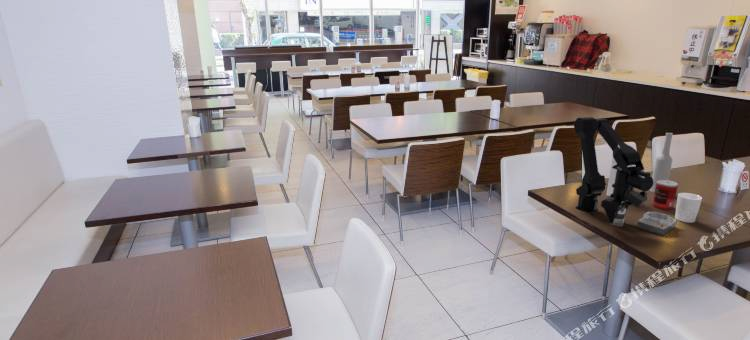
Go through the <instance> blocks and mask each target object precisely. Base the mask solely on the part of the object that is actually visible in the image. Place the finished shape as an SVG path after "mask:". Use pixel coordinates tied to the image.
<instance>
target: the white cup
mask: <svg viewBox="0 0 750 340" xmlns="http://www.w3.org/2000/svg"><path fill="white" fill-rule="evenodd" d="M676 197H677V198H676V203H675V204H676V206H675V214H674V219H676V220H677V221H679V222H682V223H690V224H691V223H695V222H696V219H697V217H698V214H699V210H700V207H701V203H702V200H703V197H702V196H700V195H698V194H696V193H695V194H694V193H691V192H690V193H689V192H679V193H677V196H676Z"/></svg>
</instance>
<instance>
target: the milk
mask: <svg viewBox="0 0 750 340" xmlns="http://www.w3.org/2000/svg"><path fill="white" fill-rule="evenodd" d="M616 164H617V163H616V161H615V159H614V158H613V157H612V159H611V164H610V171H609V175H608V182H607V183H608V184H607V188H606V196H607V197H610V195H611V194H613V189H614V187H612V184H614V183H615V177H616V172H617V170H616V169H614V168H612V167H613V166H615V165H616ZM632 166H633V165H632ZM632 166H627V167H632Z"/></svg>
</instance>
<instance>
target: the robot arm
mask: <svg viewBox="0 0 750 340" xmlns="http://www.w3.org/2000/svg"><path fill="white" fill-rule="evenodd" d="M573 128H574V131H575V134H576V136H578V138H579V139H580V145H581V152H582V153H581V155H582V159H583V167H584V175H583V177H582V179H581V185H580V186H579V187H577V188H576V189H575V192H576V195H578V202H577V206H575V208H576V209H578V210H581V211H585V212H588V213H592V212H594V211H596V210H598V208H599V207H598V204H599V199H598V197H601V196H602V194H603V192H604V191H605V190H606V186H607V184H606V176H605V175H602V174H601V173H600V172H599V168H598V167H599V166H598V160H597V152H596V146H595V135H596V133H597V132H598V134H599V135H600V136H601V137H602V138H603V140H604V141H605V143H606V144H607V145H608V146H609V148H610V149H611V151H612V158H614V159H615V161H616V163H617V164H616V165H615V166H613V167H612V168H614V169H616V170H617V172H616V177H615V183H614V184H612V187H614V189H613V194H611V195H610V196H609V197H607V198H605V199H603V200H601V202H600V207H601V208H603V209H604V211H605V214H606V217H607V219H608V224H609V223H611V224H612V223H613V222H614V219H615V216H616V213H617V212H618V211H620V210H621V207H622V206H624V207H626V213H628V209H630V206H631V205H633V206H634V207H636V208H640V207H641V206H643V205H644V204H645V202H647V201H648V192H649V191H650V189H651V187H652V186H653V183H654V182H653V178H652V176H651V172H648V171H645V167H644V164H643V161H642V160H641V159H642V158H641V155H640V153H639V151H637V149H635V148H634V147H633V146H631V145H629V144H627V143H626V142H624V140H623V139H622V138H621V137H620V135H619V134H618V132H617V131H616V130H615V129H614V127H613V126H612V125H611V124H610V122H609V120H608V118H595V117H593V116H586V117H584V116H583V117H578V118H576V119H575V120H574V122H573ZM627 166H632V167H627ZM634 189H637V190H639V191H636V190H634Z"/></svg>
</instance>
